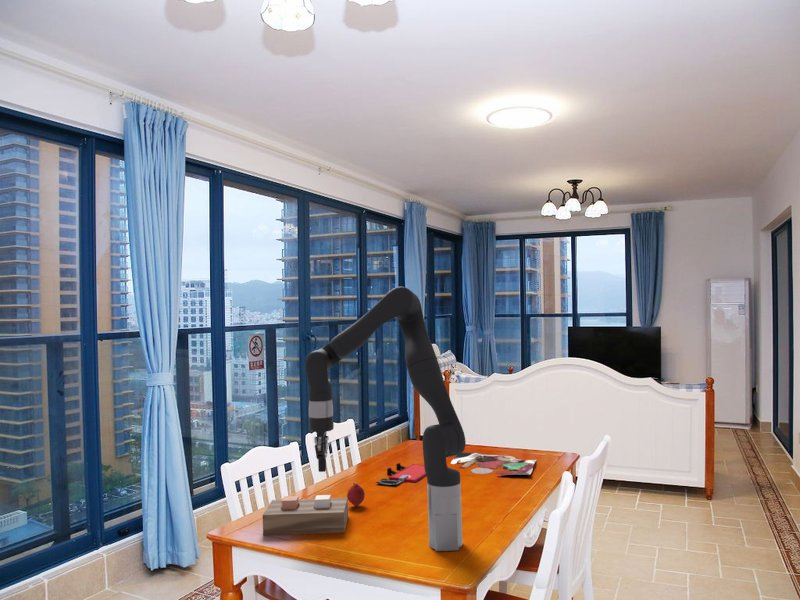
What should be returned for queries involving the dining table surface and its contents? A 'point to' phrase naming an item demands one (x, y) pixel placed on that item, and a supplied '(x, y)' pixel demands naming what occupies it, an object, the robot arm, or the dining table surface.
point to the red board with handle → (404, 474)
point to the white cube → (323, 501)
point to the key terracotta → (290, 502)
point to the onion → (356, 495)
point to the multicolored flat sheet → (494, 464)
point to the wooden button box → (305, 518)
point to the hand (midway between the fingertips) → (322, 471)
